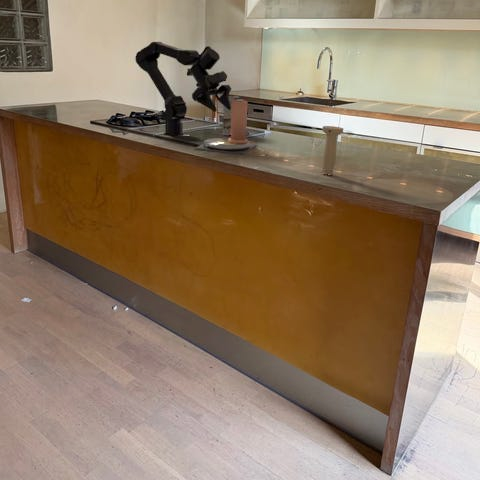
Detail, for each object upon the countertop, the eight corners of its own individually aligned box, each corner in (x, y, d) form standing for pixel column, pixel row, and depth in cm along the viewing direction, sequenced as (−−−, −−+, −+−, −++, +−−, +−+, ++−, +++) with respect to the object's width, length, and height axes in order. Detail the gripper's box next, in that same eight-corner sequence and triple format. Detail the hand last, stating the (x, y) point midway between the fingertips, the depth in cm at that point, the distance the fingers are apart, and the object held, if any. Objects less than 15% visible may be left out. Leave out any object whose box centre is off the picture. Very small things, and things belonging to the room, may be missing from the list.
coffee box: (236, 136, 211) (238, 98, 205) (222, 135, 212) (223, 97, 206) (240, 133, 219) (242, 96, 213) (226, 131, 220) (228, 95, 214)
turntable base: (195, 149, 182) (195, 147, 181) (211, 140, 199) (211, 139, 198) (243, 154, 177) (243, 153, 177) (256, 145, 194) (256, 144, 194)
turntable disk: (197, 146, 182) (197, 144, 181) (212, 138, 198) (212, 136, 197) (242, 151, 177) (242, 149, 177) (255, 143, 193) (255, 140, 193)
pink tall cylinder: (225, 142, 186) (227, 99, 180) (231, 139, 193) (233, 98, 187) (244, 144, 185) (246, 101, 179) (249, 141, 191) (252, 99, 185)
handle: (321, 171, 159) (326, 125, 153) (339, 175, 156) (345, 128, 150) (315, 174, 155) (320, 127, 149) (333, 177, 152) (339, 129, 146)
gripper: (198, 63, 178) (220, 98, 177) (229, 63, 192) (249, 95, 191) (182, 83, 185) (203, 117, 184) (212, 82, 200) (232, 113, 198)
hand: (223, 110), depth 189 cm, fingers open, 9 cm apart
